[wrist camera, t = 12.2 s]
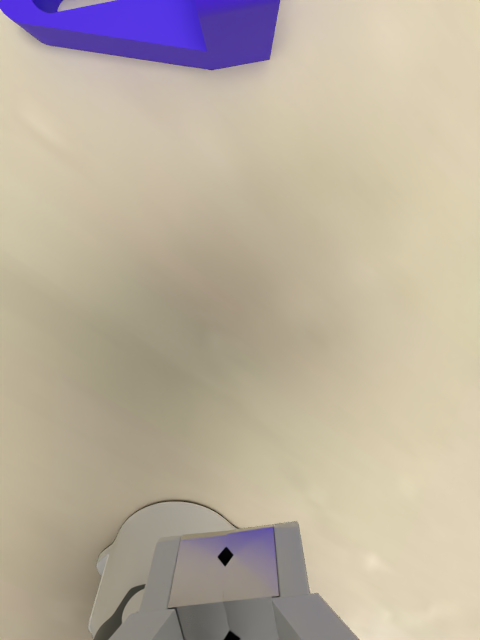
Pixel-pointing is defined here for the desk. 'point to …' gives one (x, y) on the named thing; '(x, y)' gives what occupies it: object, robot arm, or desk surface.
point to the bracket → (156, 29)
